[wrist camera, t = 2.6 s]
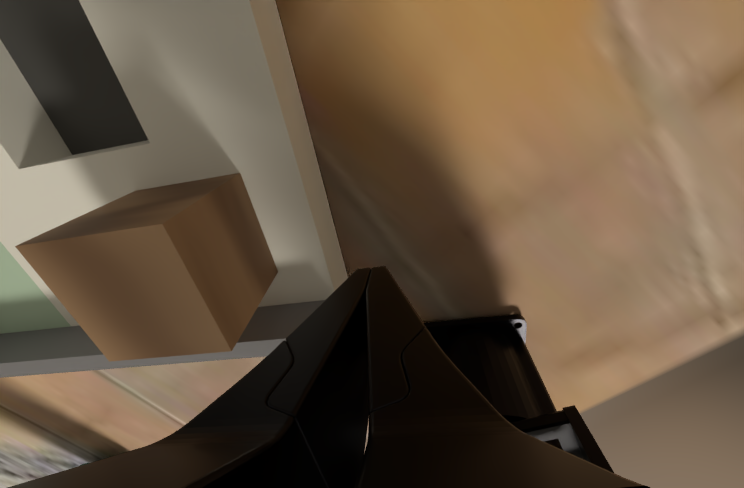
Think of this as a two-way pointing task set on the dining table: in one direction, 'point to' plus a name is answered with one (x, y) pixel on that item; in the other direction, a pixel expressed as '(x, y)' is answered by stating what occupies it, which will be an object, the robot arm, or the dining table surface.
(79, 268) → the walnut block
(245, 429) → the robot arm
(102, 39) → the trap box
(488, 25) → the dining table surface
